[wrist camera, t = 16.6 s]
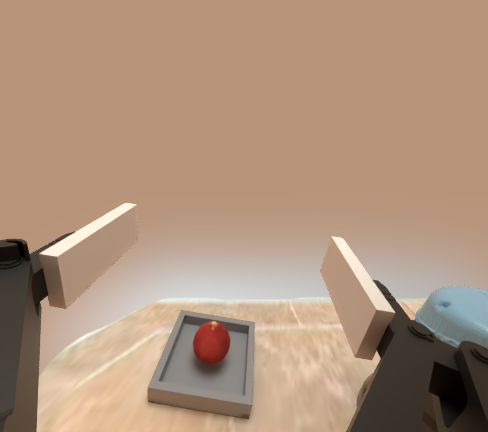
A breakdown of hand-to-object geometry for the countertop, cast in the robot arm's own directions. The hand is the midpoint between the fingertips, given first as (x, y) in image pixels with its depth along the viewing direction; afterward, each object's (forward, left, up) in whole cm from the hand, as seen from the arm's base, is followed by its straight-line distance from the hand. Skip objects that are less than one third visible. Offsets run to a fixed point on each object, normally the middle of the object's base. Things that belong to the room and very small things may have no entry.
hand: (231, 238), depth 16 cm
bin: (-6, -11, -30) cm, 33 cm away
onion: (-6, -11, -29) cm, 32 cm away
